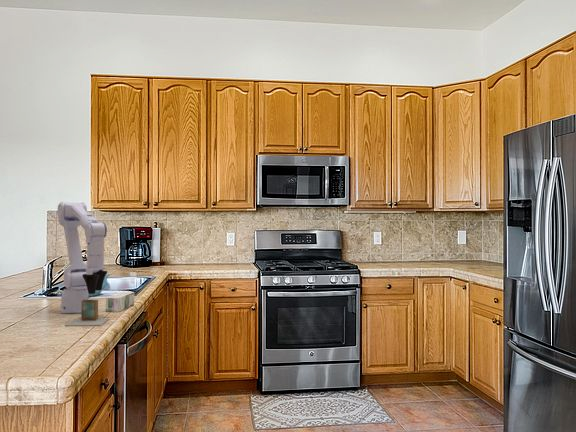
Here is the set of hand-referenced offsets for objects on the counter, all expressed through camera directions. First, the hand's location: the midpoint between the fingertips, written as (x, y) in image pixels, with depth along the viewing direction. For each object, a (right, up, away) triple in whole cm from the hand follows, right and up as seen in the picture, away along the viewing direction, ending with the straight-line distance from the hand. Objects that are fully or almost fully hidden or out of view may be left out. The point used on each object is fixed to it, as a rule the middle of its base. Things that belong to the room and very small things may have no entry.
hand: (95, 291), depth 176 cm
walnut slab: (0, -9, -5) cm, 11 cm away
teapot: (-23, -10, +51) cm, 56 cm away
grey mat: (+1, -10, -8) cm, 13 cm away
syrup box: (+4, -7, +26) cm, 27 cm away
